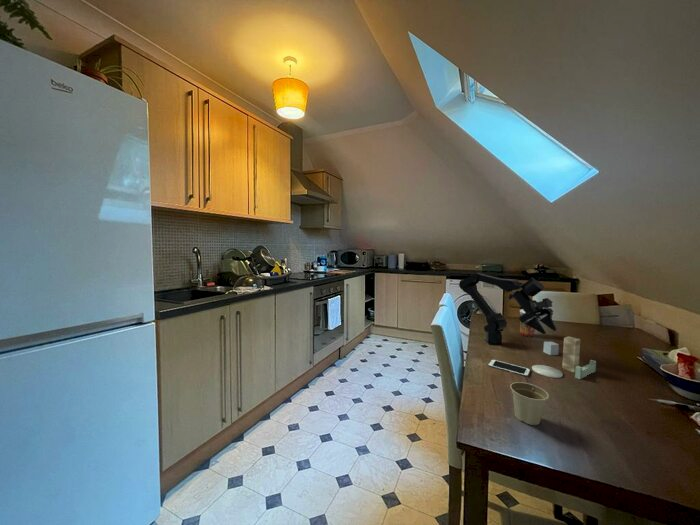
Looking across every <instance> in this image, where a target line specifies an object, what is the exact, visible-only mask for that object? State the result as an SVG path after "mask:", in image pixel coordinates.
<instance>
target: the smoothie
mask: <svg viewBox="0 0 700 525" xmlns="http://www.w3.org/2000/svg"><path fill="white" fill-rule="evenodd" d="M523 314H525V311H524V310H523V309H519V317H520V316H522V315H523ZM525 323H526V322H525ZM535 331H536V330H535V329H534V328H532V327H530V326H528V325H525V324H524V323H521V322H520V321H519V333H520V335H521V334H522V335H521V336H523V335H524V336H523V337H527V336H530V337H529V338H532V336H533V337H534V335H535V333H536V332H535Z"/></svg>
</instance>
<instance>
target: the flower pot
mask: <svg viewBox="0 0 700 525" xmlns="http://www.w3.org/2000/svg"><path fill="white" fill-rule="evenodd" d="M509 388H510V390H511V393H512V399H513V407H514V415H515V417H516V418H517V419H518V420H519V421H520V422H524V423H525V424H526V425H531V426H537V425H539V424H540V423H541V420H542V417H543V413H544V408H545V405H546V403H547V400H549V398H550V396H549V395H550V394H549V393H548V392H547V391H546V390H545V389H543V388H541V387H540V386H537V385H535V384H532V383H528V382H523V381H522V382H521V381H520V382H519V381H516V382H513V383H511V384H510V385H509Z"/></svg>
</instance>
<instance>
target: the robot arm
mask: <svg viewBox="0 0 700 525" xmlns="http://www.w3.org/2000/svg"><path fill="white" fill-rule="evenodd" d="M480 282H482V283H485V284H488V285H492V286H496V287H498V288H499V289H501V290H503V291H505V292H507V293H509V296H508V300H515V302H516V303H517V304H518V305H519V310H521V309H523V310H524V311H525V314H523V315H522V316H520V315H519V317H518V319H519V320H518V321H519V323H520V322H521V323H524V324H525V325H528V326H530V327H532V328H534V329H535V331H537V332H539V333H541V334H542V335H545V334H547V332H546V331H545V329H544V327H543V326H542V324H544V325H545V326H546V327H548V328H549V329H551V330H552V331H553V332H556V331H557V327H556V325H555V323H554V320H553V315H554V312H555V311H554V310H553V309H552V307H554V306H553V303H554V302H553V300H551V299H549V297H546V298H542V301H541V300H540V301H537V300H535V299H534V300H533V299H532V298H531V297H535V296H537V295H538V294H539V293H541V292H542V291H544V290H545V285H543V283H542V282H540V281H538V280H537V279H535V278H533V277H531V278H529V279H528V280H527V281H526V282H524V283H522V282H520V281H519V280H518V279H514V278H513V279H512V278H500V277H496V276H494V275H488V274H485V273H482V272H474V273H473V274H472V275H470V276H468V277H466V278H464V279H461V280H460V281H459V284H458V286H459V288H460V289H461V291H463V293H465V294H467V295H469V297H470V298H471V299H472V300H473V301H474V303H475V305H476V306H477V307H478V309H479V310H480V311H481V312H482V313H483V315H484V316H485V318H486V319H485V320H486V323H487V324H486V325H485V326H484V327H483V331H484V332H486V333H485V335H486V336H485V339H484V341H485V342H486V343H487V344H488V345H494V346H495V345H496V346H503V334H502V332H504V330H505V329H506V328H507V324H508V323H507V319H506V317H504V316H503V314H502V313H501V312H498V313H497V312H495V311H494V309H493V308H492V307H491V306H490V304H489V303H488V302H487V301H486V300H485V298H484V296H482V295H481V293H480V292H479V290H478V286H477V285H478V284H479V283H480ZM510 292H513V293H510ZM525 322H526V323H525ZM540 322H541V323H542V324H541V323H540Z"/></svg>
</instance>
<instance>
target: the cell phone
mask: <svg viewBox="0 0 700 525" xmlns="http://www.w3.org/2000/svg"><path fill="white" fill-rule="evenodd" d="M487 367H490V368H492V369H496V370H500V371H502V372H507V373H511V374H514V375H518V376H521V377H525V378H529V377H530V375H531V370H532V369H531V368H528V367H524V366H521V365H516V364H513V363H509V362H506V361H502V360H498V359H492V358H491V359H490V360H489V362H488V363H487Z"/></svg>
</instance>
